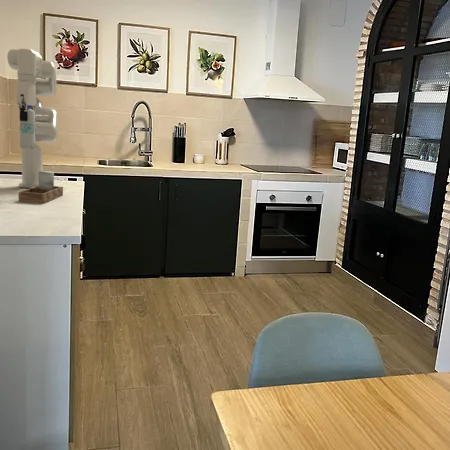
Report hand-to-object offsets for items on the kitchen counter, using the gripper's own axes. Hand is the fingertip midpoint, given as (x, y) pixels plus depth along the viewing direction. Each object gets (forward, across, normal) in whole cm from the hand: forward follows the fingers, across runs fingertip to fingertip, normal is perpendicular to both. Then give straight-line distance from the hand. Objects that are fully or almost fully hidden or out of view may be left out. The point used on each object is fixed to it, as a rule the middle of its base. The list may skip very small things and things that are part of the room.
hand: (27, 120), depth 222 cm
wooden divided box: (+33, +8, +9) cm, 35 cm away
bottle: (+12, 0, 0) cm, 12 cm away
